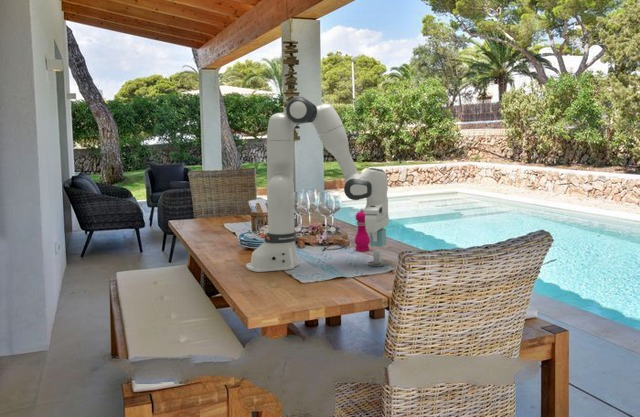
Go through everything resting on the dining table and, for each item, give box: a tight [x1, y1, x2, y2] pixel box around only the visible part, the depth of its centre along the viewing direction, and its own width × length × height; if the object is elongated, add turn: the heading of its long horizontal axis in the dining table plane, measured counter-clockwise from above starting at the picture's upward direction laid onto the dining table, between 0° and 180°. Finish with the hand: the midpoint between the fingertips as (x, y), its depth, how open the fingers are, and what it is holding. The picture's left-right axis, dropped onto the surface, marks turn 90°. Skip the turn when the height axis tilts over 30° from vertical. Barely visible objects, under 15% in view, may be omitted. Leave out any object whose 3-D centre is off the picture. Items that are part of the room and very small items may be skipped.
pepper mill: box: [354, 207, 370, 253], centre depth 277 cm, size 7×7×20 cm
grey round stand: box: [367, 250, 388, 268], centre depth 249 cm, size 8×8×6 cm
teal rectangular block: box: [369, 228, 387, 248], centre depth 248 cm, size 5×5×7 cm
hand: (378, 239), depth 248 cm, fingers closed on teal rectangular block, 5 cm apart
